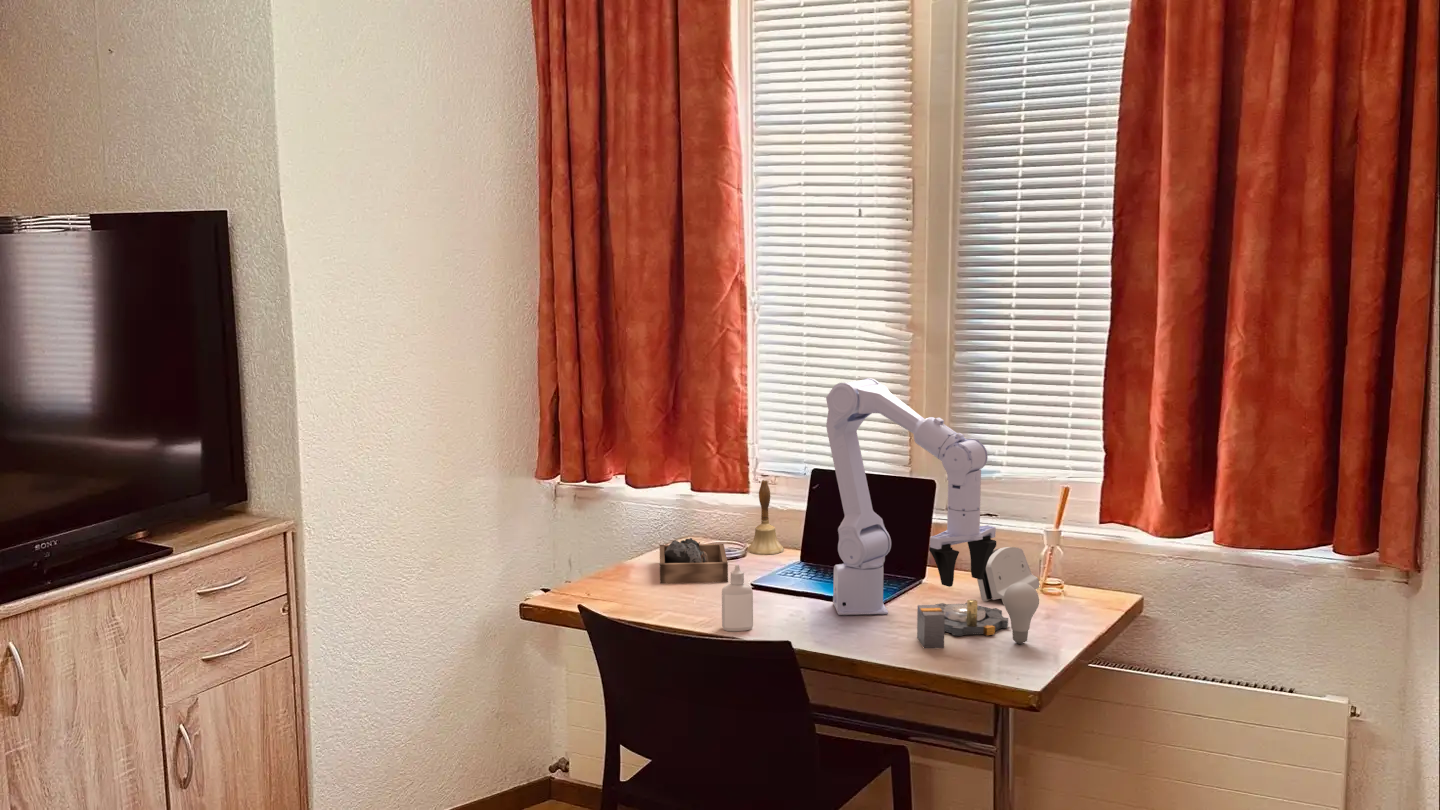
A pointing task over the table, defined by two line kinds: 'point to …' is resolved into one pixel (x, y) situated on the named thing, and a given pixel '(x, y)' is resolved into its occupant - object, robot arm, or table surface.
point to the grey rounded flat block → (1005, 573)
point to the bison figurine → (685, 552)
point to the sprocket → (985, 627)
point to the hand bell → (765, 528)
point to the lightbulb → (1020, 609)
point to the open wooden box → (696, 567)
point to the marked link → (930, 626)
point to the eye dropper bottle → (737, 603)
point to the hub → (961, 613)
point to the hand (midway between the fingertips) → (962, 581)
